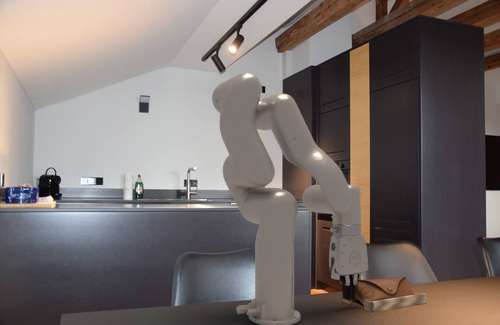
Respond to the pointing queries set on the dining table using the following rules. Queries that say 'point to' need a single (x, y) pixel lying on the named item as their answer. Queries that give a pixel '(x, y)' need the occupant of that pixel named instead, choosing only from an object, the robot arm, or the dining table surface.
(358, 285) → the sunglasses case
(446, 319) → the dining table surface
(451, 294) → the dining table surface
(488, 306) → the dining table surface
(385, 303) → the wooden pieces
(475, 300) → the dining table surface
